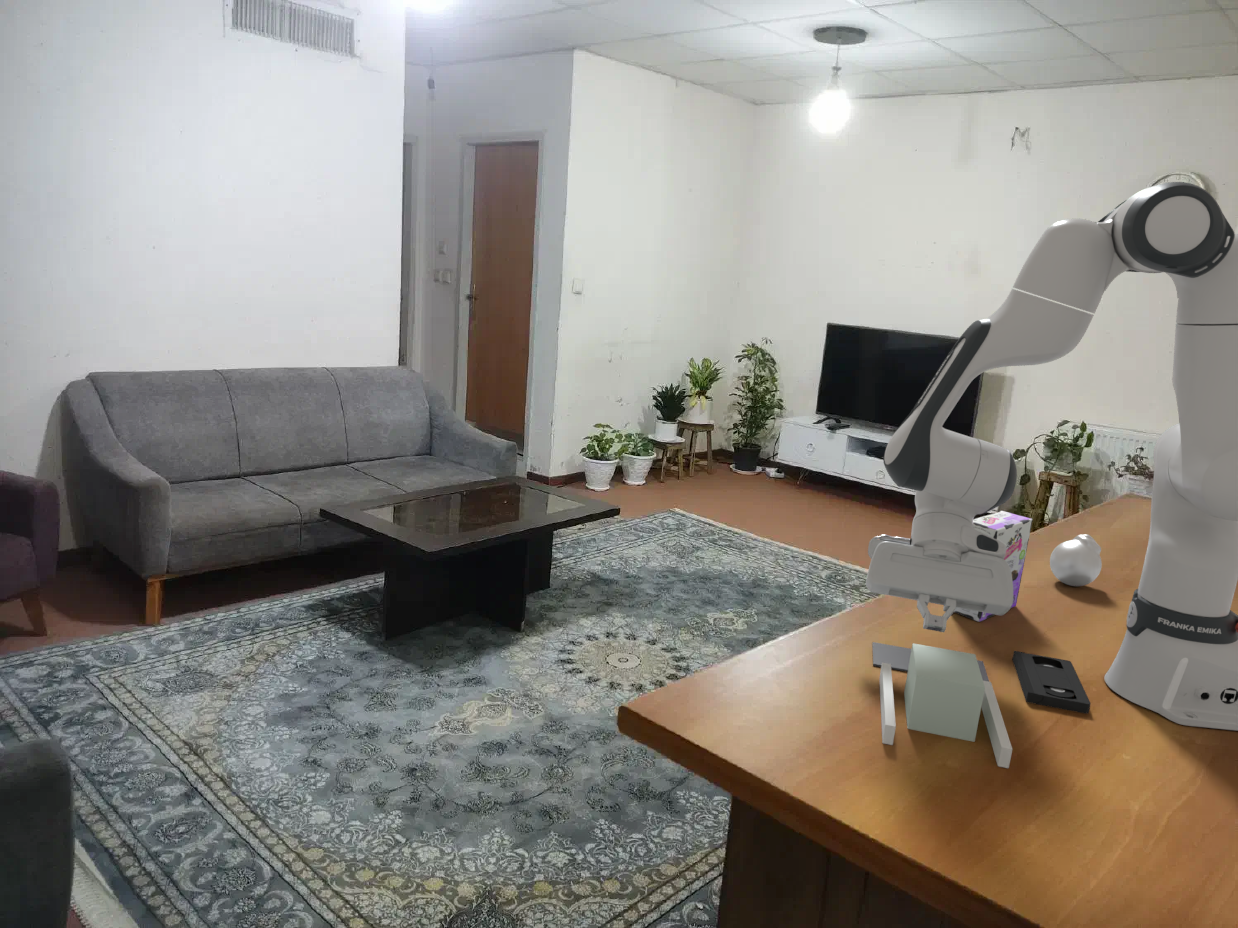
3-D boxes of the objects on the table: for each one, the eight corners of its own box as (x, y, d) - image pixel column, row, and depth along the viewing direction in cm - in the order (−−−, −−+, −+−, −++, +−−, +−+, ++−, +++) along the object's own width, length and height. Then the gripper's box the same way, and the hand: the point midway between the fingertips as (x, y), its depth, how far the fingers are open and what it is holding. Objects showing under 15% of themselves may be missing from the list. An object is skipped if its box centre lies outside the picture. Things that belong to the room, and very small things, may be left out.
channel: (982, 662, 133) (985, 647, 132) (1015, 769, 105) (1019, 750, 104) (872, 643, 137) (874, 628, 136) (875, 741, 108) (878, 723, 108)
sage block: (965, 705, 120) (975, 654, 118) (974, 742, 110) (984, 687, 109) (903, 693, 122) (912, 643, 120) (907, 729, 112) (916, 675, 110)
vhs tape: (1088, 717, 120) (1091, 704, 119) (1025, 705, 122) (1028, 692, 121) (1068, 672, 133) (1070, 660, 133) (1011, 662, 135) (1014, 650, 135)
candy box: (979, 623, 148) (997, 529, 144) (946, 611, 153) (963, 519, 149) (1017, 606, 157) (1034, 517, 154) (985, 595, 162) (1001, 508, 158)
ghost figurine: (1108, 595, 167) (1120, 544, 165) (1058, 591, 167) (1068, 540, 165) (1085, 578, 176) (1095, 529, 173) (1037, 574, 176) (1047, 525, 173)
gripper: (872, 522, 133) (861, 606, 127) (1018, 546, 129) (1015, 634, 122) (867, 542, 139) (857, 623, 132) (1007, 565, 134) (1003, 651, 127)
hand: (934, 629), depth 127 cm, fingers closed
